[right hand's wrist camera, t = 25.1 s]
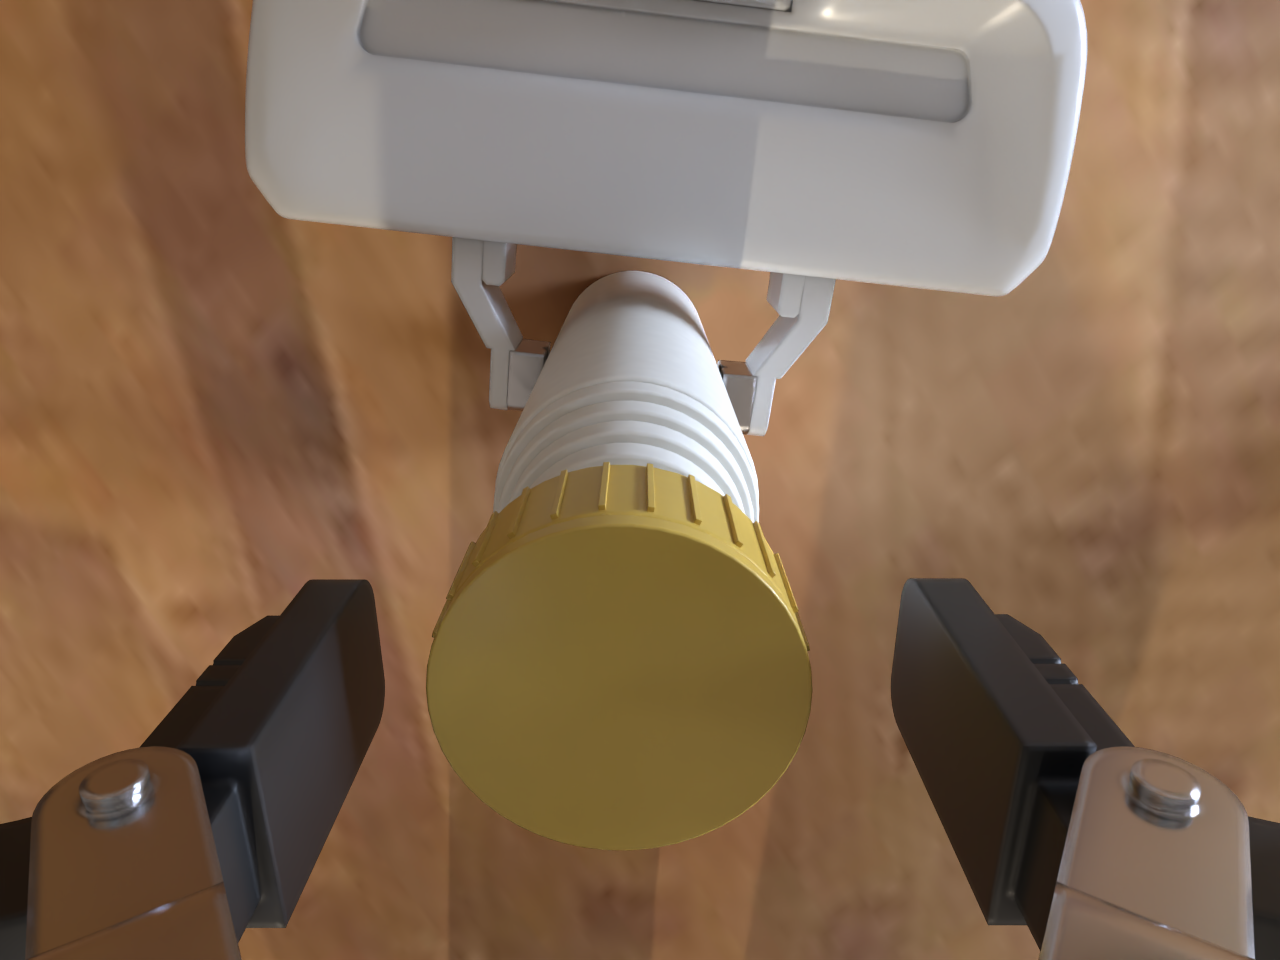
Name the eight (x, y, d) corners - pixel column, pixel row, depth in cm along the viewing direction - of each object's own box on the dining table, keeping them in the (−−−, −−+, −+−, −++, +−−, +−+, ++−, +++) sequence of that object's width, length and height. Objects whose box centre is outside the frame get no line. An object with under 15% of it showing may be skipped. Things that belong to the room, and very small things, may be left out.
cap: (527, 785, 13) (508, 892, 11) (401, 518, 12) (354, 589, 10) (824, 703, 13) (857, 801, 11) (735, 412, 11) (755, 466, 9)
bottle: (687, 420, 31) (764, 848, 12) (553, 395, 31) (407, 794, 12) (716, 285, 30) (863, 528, 10) (575, 257, 29) (446, 454, 10)
